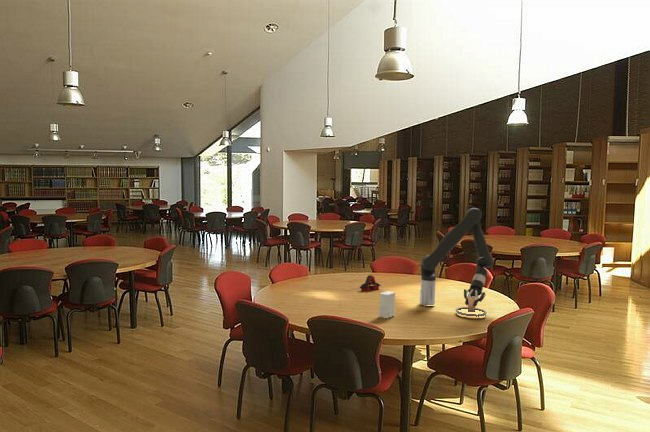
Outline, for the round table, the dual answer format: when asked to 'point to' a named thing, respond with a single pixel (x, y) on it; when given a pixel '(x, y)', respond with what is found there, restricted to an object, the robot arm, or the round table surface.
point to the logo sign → (369, 288)
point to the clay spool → (471, 304)
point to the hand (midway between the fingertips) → (470, 305)
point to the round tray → (471, 314)
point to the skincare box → (387, 304)
